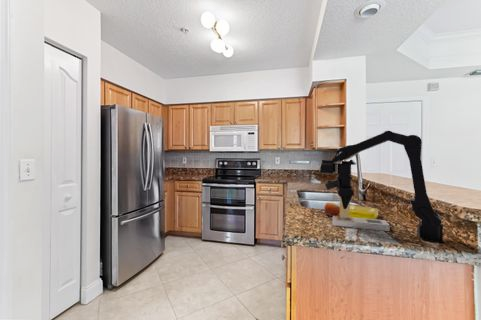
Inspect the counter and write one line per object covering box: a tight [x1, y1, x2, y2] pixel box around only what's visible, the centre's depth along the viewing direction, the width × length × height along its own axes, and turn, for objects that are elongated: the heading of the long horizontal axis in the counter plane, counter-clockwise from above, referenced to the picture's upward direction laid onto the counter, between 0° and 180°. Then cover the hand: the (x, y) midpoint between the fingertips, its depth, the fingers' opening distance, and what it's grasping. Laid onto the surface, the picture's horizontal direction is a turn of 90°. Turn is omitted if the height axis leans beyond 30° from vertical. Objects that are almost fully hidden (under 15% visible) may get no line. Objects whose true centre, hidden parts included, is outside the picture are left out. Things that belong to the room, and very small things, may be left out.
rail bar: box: [332, 215, 391, 232], centre depth 100 cm, size 22×8×3 cm, turn 68°
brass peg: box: [339, 197, 351, 218], centre depth 102 cm, size 4×4×8 cm
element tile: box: [350, 204, 379, 220], centre depth 116 cm, size 15×15×5 cm
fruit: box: [323, 202, 340, 218], centre depth 118 cm, size 8×8×8 cm
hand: (344, 207), depth 102 cm, fingers closed on brass peg, 4 cm apart
